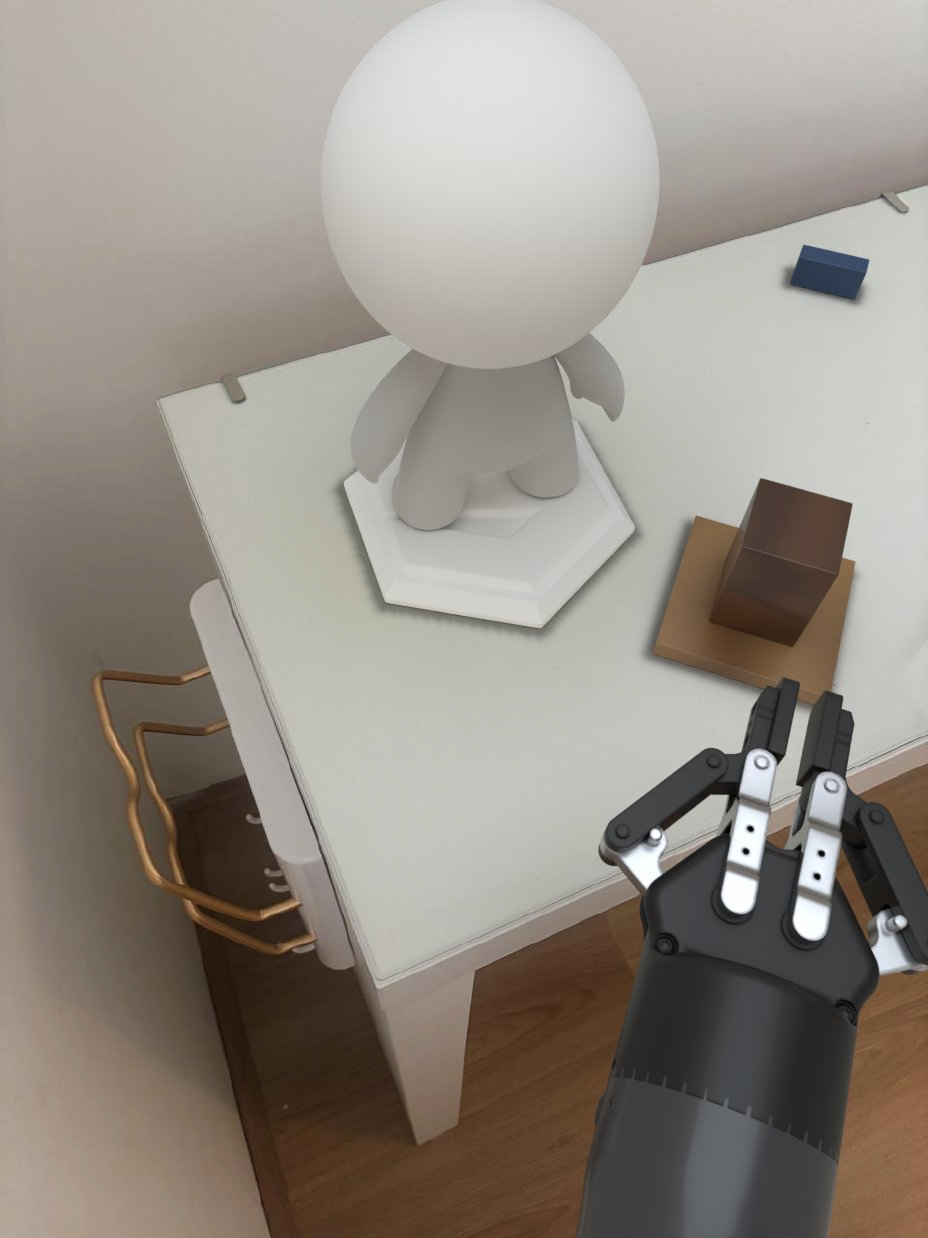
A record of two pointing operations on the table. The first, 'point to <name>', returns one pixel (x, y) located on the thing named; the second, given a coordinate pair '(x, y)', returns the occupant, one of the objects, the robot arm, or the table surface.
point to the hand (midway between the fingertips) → (805, 694)
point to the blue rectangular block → (829, 271)
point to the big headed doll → (488, 297)
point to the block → (764, 592)
